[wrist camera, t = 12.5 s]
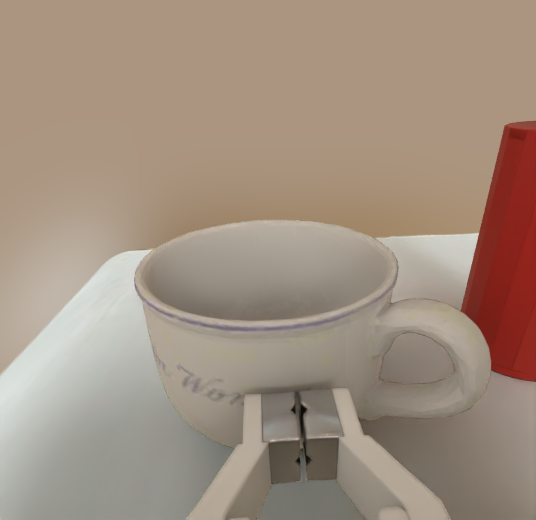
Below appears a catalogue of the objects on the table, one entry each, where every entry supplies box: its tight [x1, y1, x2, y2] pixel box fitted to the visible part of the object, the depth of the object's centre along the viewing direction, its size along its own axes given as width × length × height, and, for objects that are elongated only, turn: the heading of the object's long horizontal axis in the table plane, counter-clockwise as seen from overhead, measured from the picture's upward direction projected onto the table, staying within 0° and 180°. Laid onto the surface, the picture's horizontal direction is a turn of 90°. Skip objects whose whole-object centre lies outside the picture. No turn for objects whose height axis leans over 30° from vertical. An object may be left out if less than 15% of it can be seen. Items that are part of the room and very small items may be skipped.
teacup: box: [134, 220, 491, 449], centre depth 15 cm, size 14×11×8 cm
